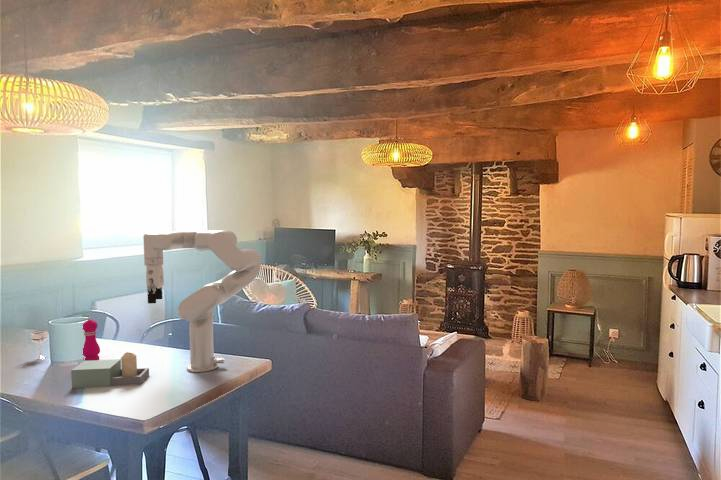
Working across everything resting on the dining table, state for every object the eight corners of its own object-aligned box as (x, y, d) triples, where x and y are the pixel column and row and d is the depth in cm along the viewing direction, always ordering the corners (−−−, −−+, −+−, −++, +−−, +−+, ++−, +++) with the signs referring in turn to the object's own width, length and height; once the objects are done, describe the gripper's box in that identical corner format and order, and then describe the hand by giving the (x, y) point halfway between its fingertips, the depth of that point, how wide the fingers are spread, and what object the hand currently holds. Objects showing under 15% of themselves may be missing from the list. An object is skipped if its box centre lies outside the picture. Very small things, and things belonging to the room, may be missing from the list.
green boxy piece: (149, 374, 209) (148, 357, 209) (140, 384, 197) (139, 367, 197) (85, 377, 206) (84, 360, 206) (72, 388, 194) (71, 370, 194)
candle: (140, 376, 204) (139, 351, 203) (128, 380, 199) (127, 355, 198) (130, 374, 206) (129, 350, 206) (118, 378, 201) (117, 354, 201)
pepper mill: (92, 363, 225) (90, 318, 224) (78, 362, 226) (76, 318, 225) (104, 358, 232) (102, 315, 231) (90, 358, 234) (88, 315, 232)
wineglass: (51, 356, 236) (50, 331, 236) (36, 360, 231) (34, 334, 230) (44, 354, 240) (43, 329, 239) (28, 358, 234) (27, 332, 234)
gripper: (157, 263, 210) (158, 304, 211) (168, 259, 227) (169, 297, 228) (138, 264, 209) (139, 305, 210) (150, 259, 226) (152, 297, 227)
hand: (155, 301), depth 219 cm, fingers open, 9 cm apart
